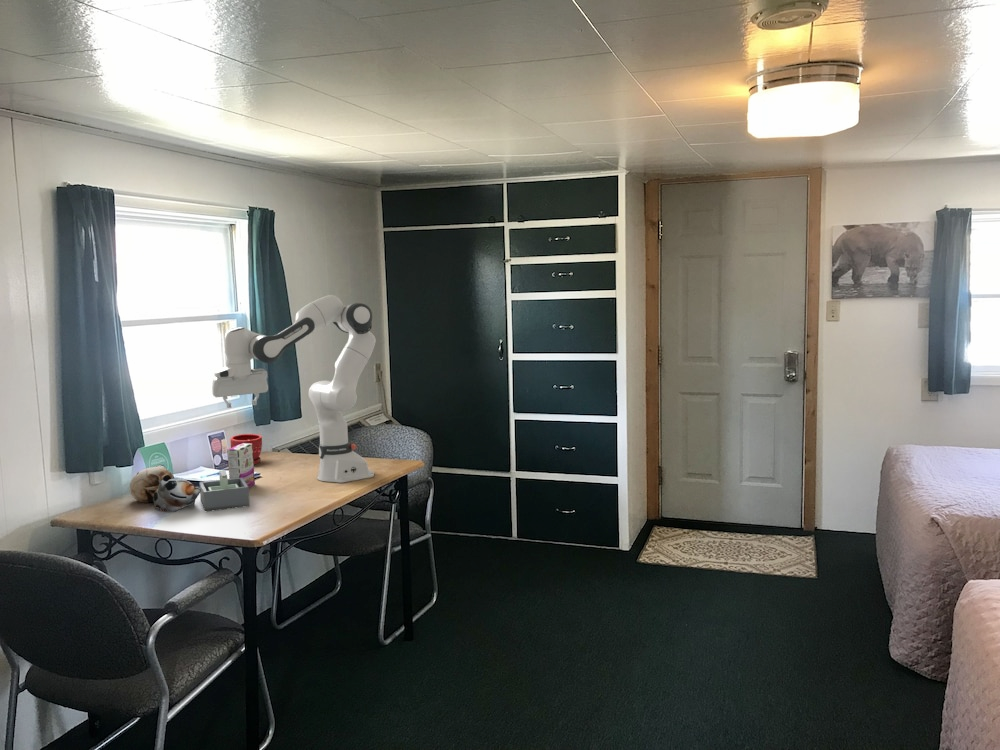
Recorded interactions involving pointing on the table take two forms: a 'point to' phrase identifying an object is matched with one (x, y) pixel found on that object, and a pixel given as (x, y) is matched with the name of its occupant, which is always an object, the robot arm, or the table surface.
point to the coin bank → (148, 483)
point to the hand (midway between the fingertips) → (241, 406)
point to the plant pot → (250, 439)
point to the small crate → (223, 482)
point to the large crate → (224, 495)
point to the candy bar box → (241, 463)
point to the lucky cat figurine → (175, 494)
